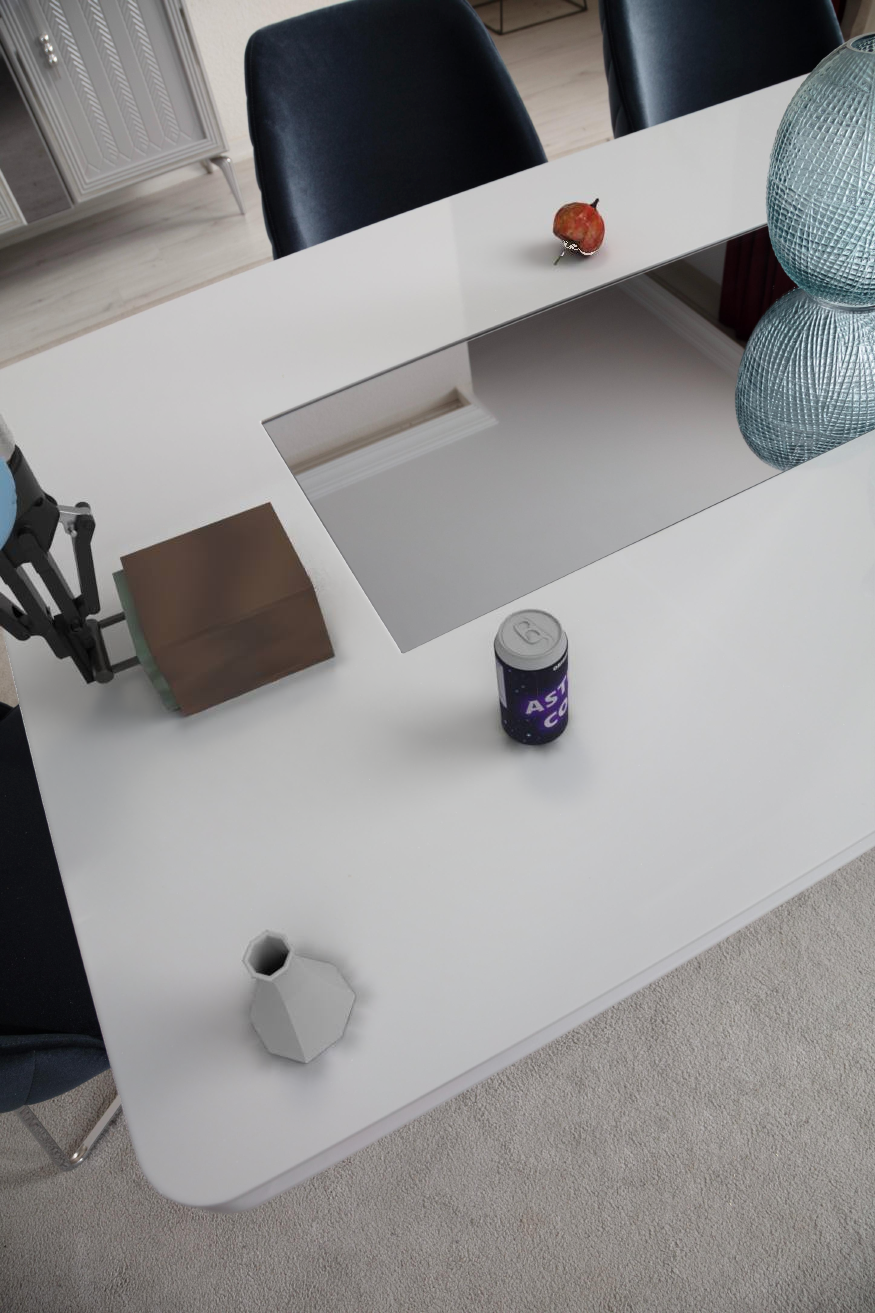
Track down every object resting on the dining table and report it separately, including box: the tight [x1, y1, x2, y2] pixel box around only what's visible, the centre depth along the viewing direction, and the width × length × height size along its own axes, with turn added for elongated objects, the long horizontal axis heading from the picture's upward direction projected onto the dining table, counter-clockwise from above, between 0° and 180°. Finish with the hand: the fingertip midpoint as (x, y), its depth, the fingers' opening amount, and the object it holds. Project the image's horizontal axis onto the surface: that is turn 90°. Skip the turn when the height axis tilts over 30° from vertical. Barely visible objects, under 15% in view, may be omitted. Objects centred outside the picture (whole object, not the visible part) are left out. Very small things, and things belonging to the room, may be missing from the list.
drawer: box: [86, 568, 181, 713], centre depth 85 cm, size 18×11×8 cm, turn 114°
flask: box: [241, 929, 356, 1064], centre depth 62 cm, size 7×7×10 cm
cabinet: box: [119, 501, 336, 718], centre depth 85 cm, size 15×13×10 cm
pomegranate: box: [552, 197, 606, 266], centre depth 126 cm, size 7×7×10 cm
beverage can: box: [493, 608, 569, 746], centre depth 75 cm, size 6×6×12 cm
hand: (91, 671), depth 84 cm, fingers closed
